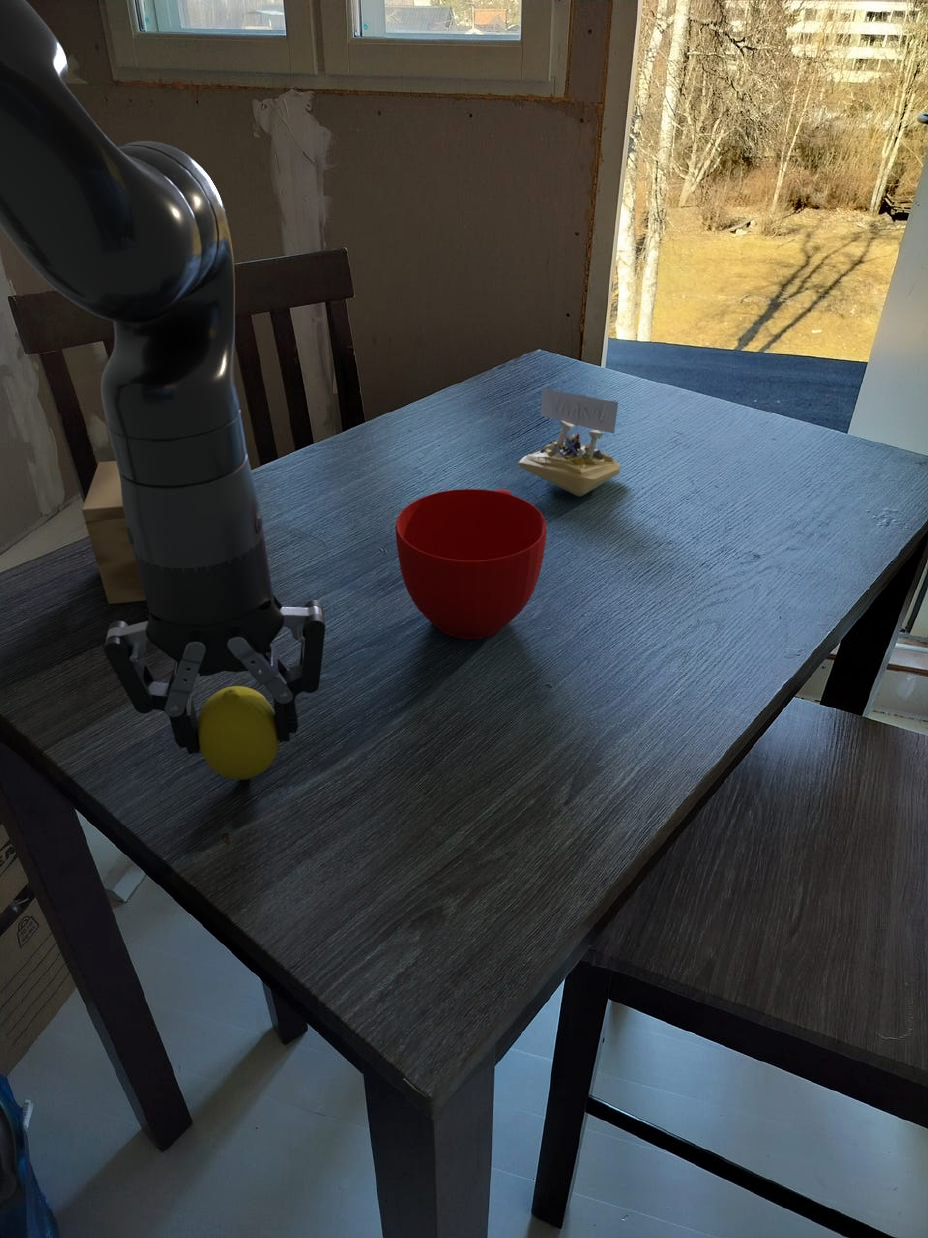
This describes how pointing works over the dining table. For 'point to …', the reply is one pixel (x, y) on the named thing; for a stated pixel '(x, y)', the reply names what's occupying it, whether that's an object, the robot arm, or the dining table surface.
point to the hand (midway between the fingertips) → (239, 739)
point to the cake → (575, 443)
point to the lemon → (238, 733)
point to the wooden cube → (112, 536)
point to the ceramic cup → (470, 558)
